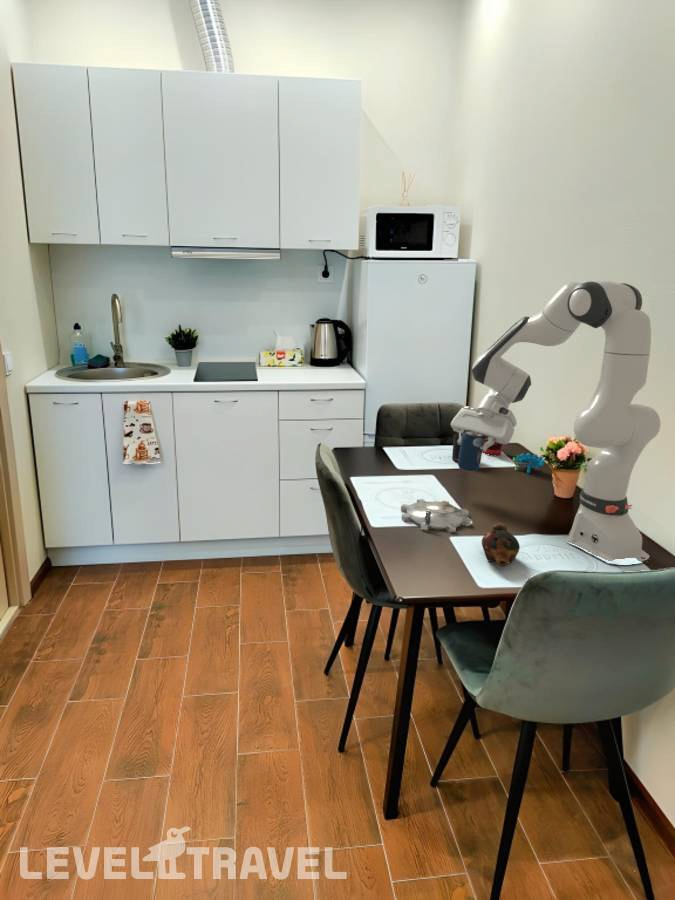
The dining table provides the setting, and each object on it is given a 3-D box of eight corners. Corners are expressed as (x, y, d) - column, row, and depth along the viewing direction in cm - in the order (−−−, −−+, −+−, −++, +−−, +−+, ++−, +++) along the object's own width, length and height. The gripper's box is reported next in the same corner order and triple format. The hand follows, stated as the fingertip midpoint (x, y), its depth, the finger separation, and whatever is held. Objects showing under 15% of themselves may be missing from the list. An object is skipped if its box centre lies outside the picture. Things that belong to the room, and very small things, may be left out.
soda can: (480, 473, 213) (487, 437, 209) (459, 471, 213) (465, 435, 209) (476, 465, 219) (482, 430, 216) (455, 463, 219) (461, 428, 215)
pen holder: (447, 457, 256) (450, 431, 253) (471, 456, 257) (474, 431, 254) (456, 465, 247) (459, 439, 244) (480, 465, 249) (483, 439, 246)
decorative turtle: (510, 547, 184) (516, 521, 181) (521, 577, 170) (528, 549, 167) (474, 542, 184) (480, 516, 181) (483, 573, 170) (489, 545, 167)
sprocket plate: (484, 529, 195) (486, 514, 193) (418, 535, 188) (420, 520, 186) (449, 501, 213) (451, 487, 212) (388, 506, 206) (389, 492, 205)
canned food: (489, 448, 269) (492, 421, 266) (505, 454, 263) (509, 426, 260) (476, 451, 264) (480, 424, 261) (493, 457, 259) (497, 429, 255)
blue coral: (546, 465, 247) (543, 452, 239) (544, 480, 245) (540, 466, 237) (515, 464, 252) (511, 450, 244) (513, 478, 250) (508, 464, 242)
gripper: (459, 400, 222) (439, 434, 217) (516, 412, 209) (496, 449, 204) (465, 411, 226) (446, 444, 222) (521, 424, 213) (502, 460, 209)
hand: (470, 447), depth 213 cm, fingers closed on soda can, 7 cm apart
